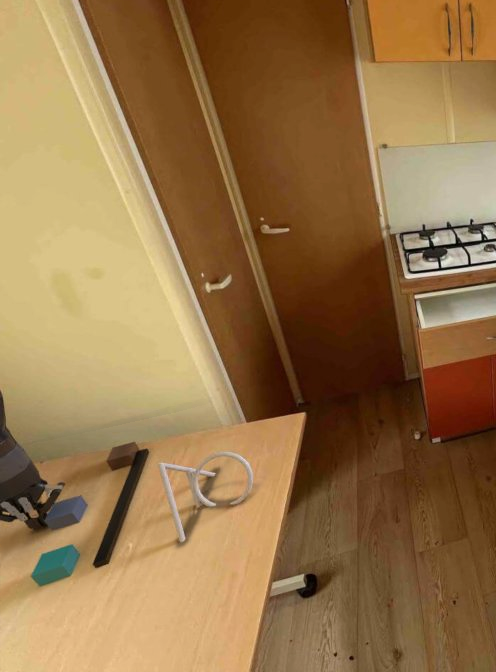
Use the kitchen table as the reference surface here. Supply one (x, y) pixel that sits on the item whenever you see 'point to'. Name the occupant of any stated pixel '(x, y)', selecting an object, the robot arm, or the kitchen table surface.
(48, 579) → the teal block
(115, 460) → the walnut block
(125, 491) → the straightedge
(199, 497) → the wire frame
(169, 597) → the kitchen table surface
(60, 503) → the slate block
